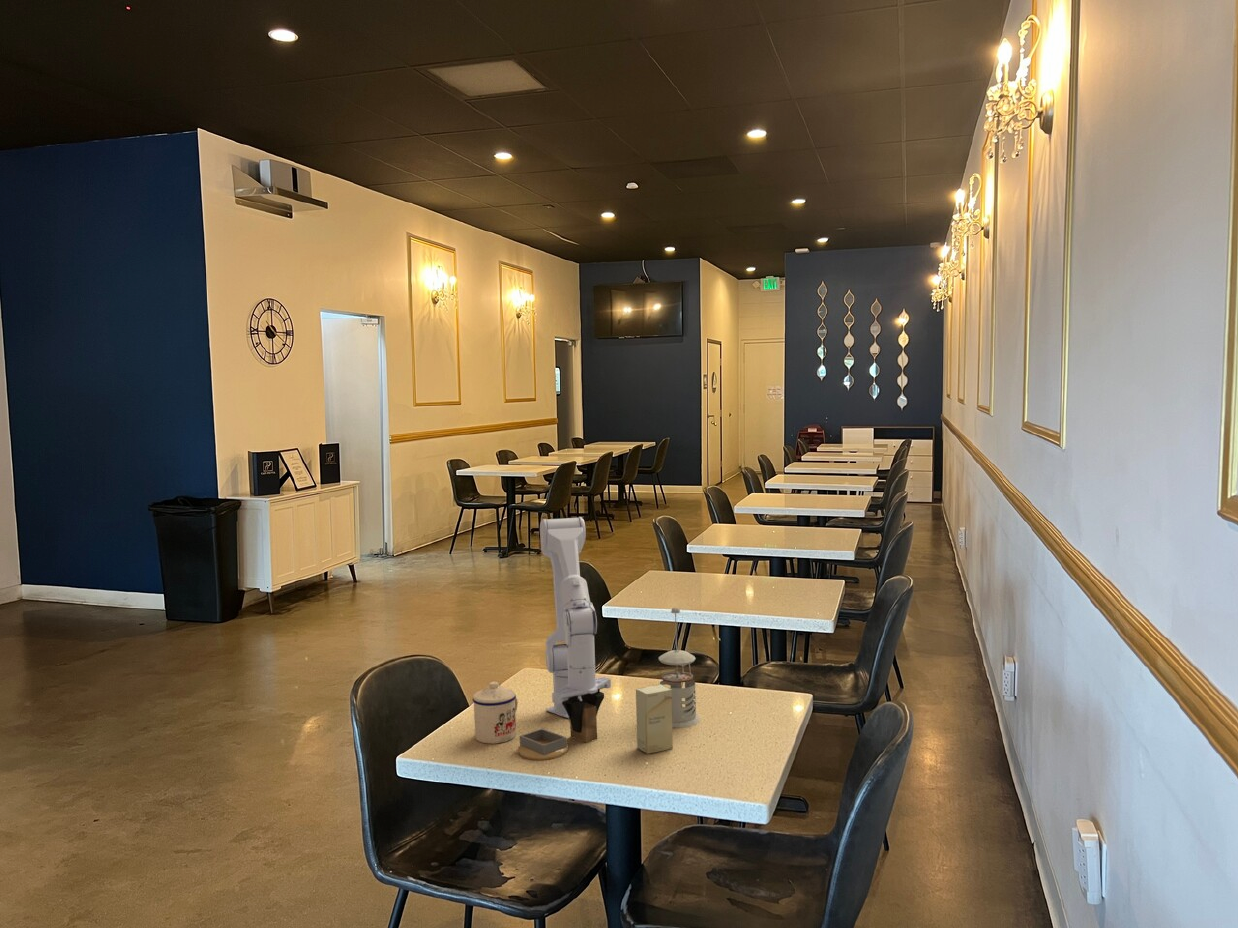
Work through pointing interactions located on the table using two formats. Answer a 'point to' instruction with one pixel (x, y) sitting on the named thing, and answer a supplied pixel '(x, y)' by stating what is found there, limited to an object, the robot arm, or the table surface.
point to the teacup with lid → (495, 714)
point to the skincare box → (654, 718)
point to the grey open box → (542, 745)
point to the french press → (680, 686)
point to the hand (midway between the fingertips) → (583, 728)
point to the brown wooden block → (587, 725)
